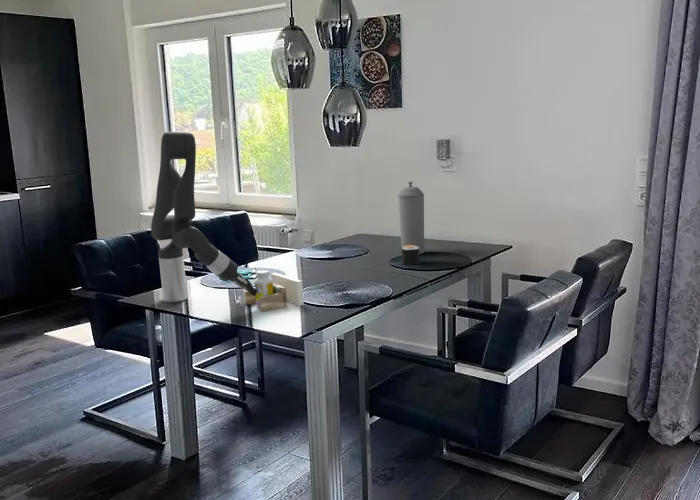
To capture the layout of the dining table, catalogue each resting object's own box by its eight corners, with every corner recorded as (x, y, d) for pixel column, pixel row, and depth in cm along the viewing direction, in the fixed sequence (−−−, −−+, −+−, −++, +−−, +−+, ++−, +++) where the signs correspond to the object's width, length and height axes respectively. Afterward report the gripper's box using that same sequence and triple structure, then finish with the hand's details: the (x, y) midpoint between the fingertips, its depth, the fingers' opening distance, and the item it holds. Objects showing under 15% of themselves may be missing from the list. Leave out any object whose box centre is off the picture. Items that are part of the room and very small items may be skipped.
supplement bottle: (274, 302, 254) (271, 268, 252) (274, 307, 248) (272, 272, 245) (256, 303, 253) (253, 270, 251) (256, 308, 247) (253, 274, 244)
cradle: (245, 304, 254) (243, 285, 253) (268, 298, 259) (267, 281, 258) (262, 311, 243) (261, 292, 241) (287, 305, 248) (285, 287, 247)
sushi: (403, 265, 306) (402, 248, 304) (401, 261, 314) (400, 244, 312) (420, 264, 306) (420, 246, 304) (418, 260, 314) (417, 243, 313)
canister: (431, 252, 331) (429, 180, 324) (413, 256, 322) (411, 183, 316) (412, 249, 340) (409, 179, 333) (394, 254, 332) (391, 182, 325)
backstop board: (272, 295, 264) (270, 273, 262) (276, 294, 265) (275, 272, 263) (298, 305, 248) (297, 281, 246) (303, 304, 249) (301, 280, 247)
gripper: (235, 259, 234) (269, 288, 243) (220, 254, 245) (253, 282, 254) (222, 277, 232) (257, 305, 241) (207, 271, 243) (241, 298, 252)
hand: (255, 293), depth 247 cm, fingers closed
